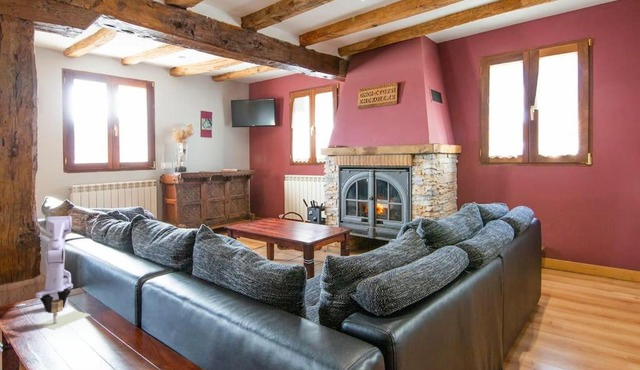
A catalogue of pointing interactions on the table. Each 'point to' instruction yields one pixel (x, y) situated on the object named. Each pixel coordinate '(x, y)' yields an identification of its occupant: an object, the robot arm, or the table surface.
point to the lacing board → (63, 319)
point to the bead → (56, 306)
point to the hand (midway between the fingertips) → (55, 309)
